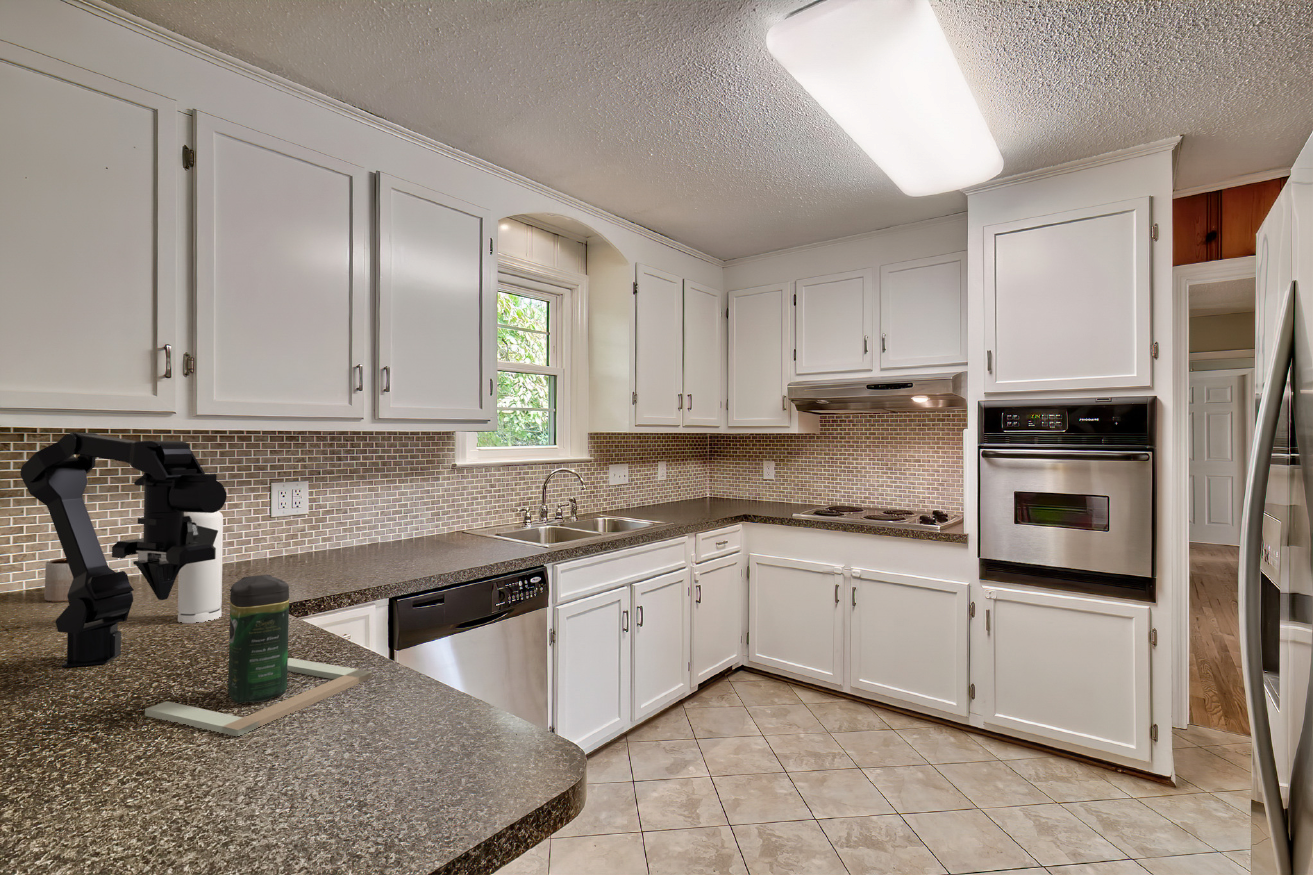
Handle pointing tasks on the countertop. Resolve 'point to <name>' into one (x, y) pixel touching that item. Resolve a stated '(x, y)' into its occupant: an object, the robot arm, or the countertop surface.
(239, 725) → the frame
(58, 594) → the planter
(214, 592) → the bottle
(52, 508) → the robot arm
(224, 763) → the countertop surface
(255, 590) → the coffee jar
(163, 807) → the countertop surface
